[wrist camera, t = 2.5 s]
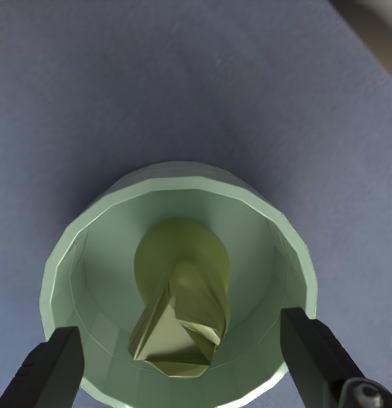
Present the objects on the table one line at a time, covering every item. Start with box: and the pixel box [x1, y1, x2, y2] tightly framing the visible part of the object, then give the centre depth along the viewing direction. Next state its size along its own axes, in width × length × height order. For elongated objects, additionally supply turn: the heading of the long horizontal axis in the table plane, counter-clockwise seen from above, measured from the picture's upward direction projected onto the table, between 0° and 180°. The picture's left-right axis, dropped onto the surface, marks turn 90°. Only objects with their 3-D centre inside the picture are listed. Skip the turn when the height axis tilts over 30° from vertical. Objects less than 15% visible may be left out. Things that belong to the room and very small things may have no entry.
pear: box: [127, 217, 230, 379], centre depth 16 cm, size 6×5×10 cm
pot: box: [39, 161, 318, 408], centre depth 19 cm, size 14×14×6 cm
